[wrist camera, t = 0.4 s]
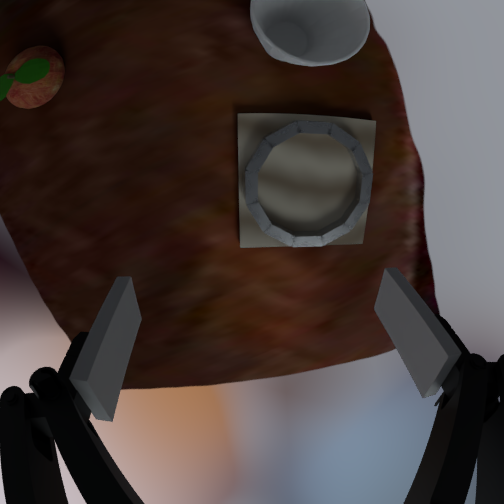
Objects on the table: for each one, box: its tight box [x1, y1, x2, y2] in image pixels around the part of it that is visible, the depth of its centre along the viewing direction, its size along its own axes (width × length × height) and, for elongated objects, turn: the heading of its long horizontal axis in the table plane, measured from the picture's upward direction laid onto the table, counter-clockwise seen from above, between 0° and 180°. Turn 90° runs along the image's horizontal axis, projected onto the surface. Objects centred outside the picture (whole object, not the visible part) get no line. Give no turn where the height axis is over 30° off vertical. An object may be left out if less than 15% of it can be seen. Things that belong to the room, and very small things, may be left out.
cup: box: [250, 0, 370, 66], centre depth 24 cm, size 10×10×14 cm
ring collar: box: [245, 120, 373, 247], centre depth 37 cm, size 16×16×2 cm
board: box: [238, 113, 376, 248], centre depth 39 cm, size 18×18×1 cm
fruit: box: [0, 46, 65, 109], centre depth 24 cm, size 9×10×10 cm
